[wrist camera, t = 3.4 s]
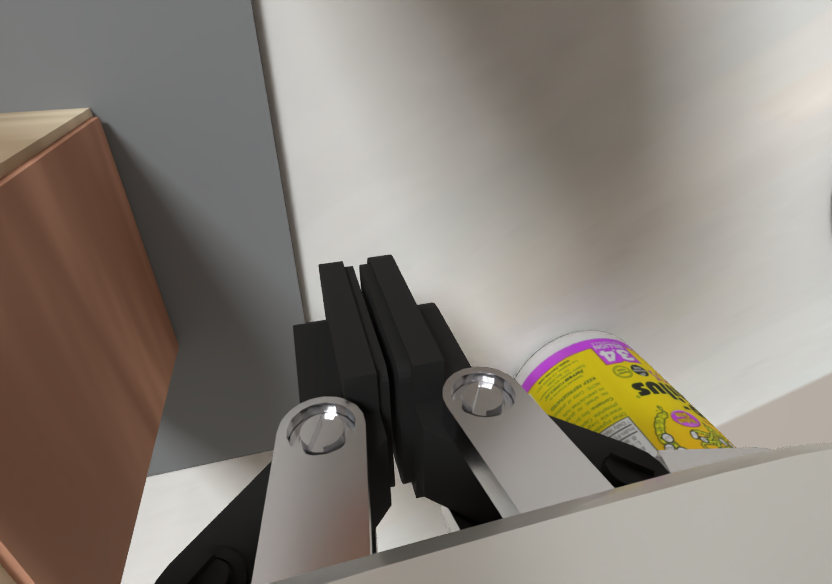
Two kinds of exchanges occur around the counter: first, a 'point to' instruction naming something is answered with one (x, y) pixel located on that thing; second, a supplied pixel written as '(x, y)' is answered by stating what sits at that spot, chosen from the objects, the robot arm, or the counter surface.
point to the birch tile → (73, 353)
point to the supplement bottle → (614, 394)
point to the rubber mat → (183, 194)
